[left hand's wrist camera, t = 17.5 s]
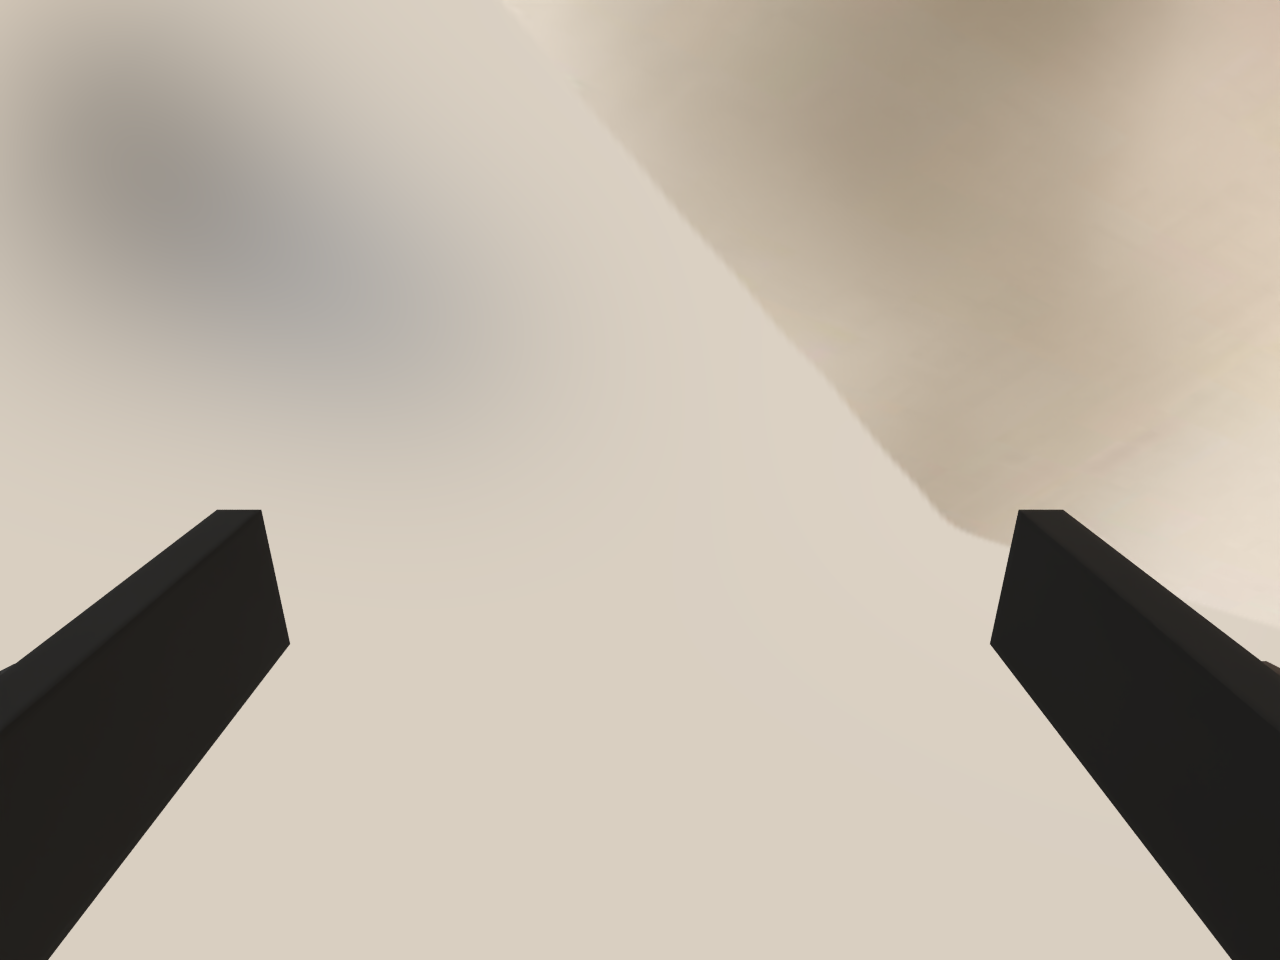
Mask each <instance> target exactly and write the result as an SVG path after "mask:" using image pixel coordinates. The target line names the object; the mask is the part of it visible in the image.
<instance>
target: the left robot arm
mask: <svg viewBox="0 0 1280 960" xmlns="http://www.w3.org/2000/svg"><path fill="white" fill-rule="evenodd" d="M289 645H290V642H289V637H288V632H287V628H286V623H285V618H284V614H283V609H282V604H281V600H280V595H279V590H278V586H277V581H276V576H275V572H274V567H273V562H272V558H271V553H270V548H269V544H268V539H267V534H266V530H265V525H264V520H263V516H262V511H261V510H216V511H215V512H214V513H212V514H211V515H210V516H208V517H207V518H206V519H204V520H203V521H202V522H201V523H199V524H198V525H197V526H195V527H194V528H193V529H191V530H190V531H189V532H187V533H186V534H185V535H183V536H182V537H181V538H179V539H178V540H177V541H176V542H174V543H173V544H172V545H170V546H169V547H168V548H166V549H165V550H164V551H162V552H161V553H160V554H159V555H157V556H156V557H155V558H153V559H152V560H151V561H149V562H148V563H147V564H145V565H144V566H143V567H142V568H140V569H139V570H138V571H136V572H135V573H134V574H132V575H131V576H130V577H128V578H127V579H126V580H125V581H123V582H122V583H121V584H119V585H118V586H117V587H115V588H114V589H113V590H111V591H110V592H109V593H108V594H106V595H105V596H104V597H102V598H101V599H100V600H98V601H97V602H96V603H94V604H93V605H92V606H90V607H89V608H88V609H86V610H85V611H84V612H83V613H81V614H80V615H79V616H77V617H76V618H75V619H73V620H72V621H71V622H69V623H68V624H67V625H66V626H64V627H63V628H62V629H60V630H59V631H58V632H56V633H55V634H54V635H52V636H51V637H50V638H49V639H47V640H46V641H45V642H43V643H42V644H41V645H39V646H38V647H37V648H35V649H34V650H33V651H32V652H30V653H29V654H28V655H26V656H25V657H24V658H22V659H21V660H20V661H18V662H17V663H16V664H13V665H11V666H9V667H7V668H5V669H3V670H1V671H0V960H48V959H49V958H50V957H51V955H52V954H53V953H54V951H55V950H56V949H57V947H58V946H59V945H60V943H61V942H62V941H63V940H64V938H65V937H66V936H67V934H68V933H69V932H70V930H71V929H72V928H73V927H74V925H75V924H76V923H77V921H78V920H79V919H80V917H81V916H82V915H83V914H84V912H85V911H86V910H87V908H88V907H89V906H90V904H91V903H92V902H93V900H94V899H95V898H96V897H97V895H98V894H99V893H100V891H101V890H102V889H103V887H104V886H105V885H106V883H107V882H108V881H109V879H110V878H111V877H112V876H113V874H114V873H115V872H116V870H117V869H118V868H119V867H120V865H121V864H122V863H123V861H124V860H125V859H126V857H127V856H128V855H129V853H130V852H131V851H132V849H133V848H134V847H135V846H136V844H137V843H138V842H139V840H140V839H141V838H142V836H143V835H144V834H145V833H146V831H147V830H148V829H149V827H150V826H151V825H152V823H153V822H154V821H155V820H156V818H157V817H158V816H159V814H160V813H161V812H162V810H163V809H164V808H165V806H166V805H167V804H168V802H169V801H170V800H171V799H172V797H173V796H174V795H175V793H176V792H177V791H178V789H179V788H180V787H181V786H182V784H183V783H184V782H185V780H186V779H187V778H188V776H189V775H190V774H191V773H192V771H193V770H194V769H195V767H196V766H197V765H198V763H199V762H200V761H201V759H202V758H203V757H204V756H205V754H206V753H207V752H208V750H209V749H210V748H211V746H212V745H213V744H214V742H215V741H216V740H217V739H218V737H219V736H220V735H221V733H222V732H223V731H224V729H225V728H226V727H227V725H228V724H229V723H230V722H231V720H232V719H233V718H234V716H235V715H236V714H237V712H238V711H239V710H240V709H241V707H242V706H243V705H244V703H245V702H246V701H247V699H248V698H249V697H250V695H251V694H252V693H253V692H254V690H255V689H256V688H257V686H258V685H259V684H260V682H261V681H262V680H263V678H264V677H265V676H266V675H267V673H268V672H269V671H270V669H271V668H272V667H273V665H274V664H275V663H276V662H277V660H278V659H279V658H280V656H281V655H282V654H283V652H284V651H285V650H286V648H287V647H288V646H289ZM990 645H991V646H992V647H993V648H994V650H995V651H996V652H997V654H998V655H999V656H1000V658H1001V659H1002V660H1003V662H1004V663H1005V664H1006V665H1007V667H1008V668H1009V669H1010V671H1011V672H1012V673H1013V675H1014V676H1015V677H1016V678H1017V680H1018V681H1019V682H1020V684H1021V685H1022V686H1023V688H1024V689H1025V690H1026V692H1027V693H1028V694H1029V695H1030V697H1031V698H1032V699H1033V701H1034V702H1035V703H1036V705H1037V706H1038V707H1039V708H1040V710H1041V711H1042V712H1043V714H1044V715H1045V716H1046V718H1047V719H1048V720H1049V722H1050V723H1051V724H1052V725H1053V727H1054V728H1055V729H1056V731H1057V732H1058V733H1059V735H1060V736H1061V737H1062V739H1063V740H1064V741H1065V742H1066V744H1067V745H1068V746H1069V748H1070V749H1071V750H1072V752H1073V753H1074V754H1075V755H1076V757H1077V758H1078V759H1079V761H1080V762H1081V763H1082V765H1083V766H1084V767H1085V769H1086V770H1087V771H1088V772H1089V774H1090V775H1091V776H1092V778H1093V779H1094V780H1095V782H1096V783H1097V784H1098V785H1099V787H1100V788H1101V789H1102V791H1103V792H1104V793H1105V795H1106V796H1107V797H1108V798H1109V800H1110V801H1111V803H1112V804H1113V805H1114V806H1115V808H1116V809H1117V810H1118V812H1119V813H1120V814H1121V816H1122V817H1123V818H1124V819H1125V821H1126V822H1127V823H1128V825H1129V826H1130V827H1131V829H1132V830H1133V831H1134V833H1135V834H1136V835H1137V836H1138V838H1139V839H1140V840H1141V842H1142V843H1143V844H1144V846H1145V847H1146V848H1147V850H1148V851H1149V852H1150V853H1151V855H1152V856H1153V857H1154V859H1155V860H1156V861H1157V863H1158V864H1159V865H1160V867H1161V868H1162V869H1163V870H1164V872H1165V873H1166V874H1167V876H1168V877H1169V878H1170V880H1171V881H1172V882H1173V883H1174V885H1175V886H1176V887H1177V889H1178V890H1179V891H1180V893H1181V894H1182V895H1183V896H1184V898H1185V899H1186V900H1187V902H1188V903H1189V904H1190V906H1191V907H1192V908H1193V910H1194V911H1195V912H1196V913H1197V915H1198V916H1199V917H1200V919H1201V920H1202V921H1203V923H1204V924H1205V925H1206V927H1207V928H1208V929H1209V930H1210V932H1211V933H1212V934H1213V936H1214V937H1215V938H1216V940H1217V941H1218V942H1219V944H1220V945H1221V946H1222V947H1223V949H1224V950H1225V951H1226V953H1227V954H1228V955H1229V956H1230V958H1231V959H1232V960H1280V668H1279V667H1277V666H1275V665H1273V664H1271V663H1269V662H1267V661H1260V660H1259V659H1258V658H1256V657H1255V656H1254V655H1252V654H1251V653H1250V652H1249V651H1247V650H1246V649H1245V648H1243V647H1242V646H1241V645H1239V644H1238V643H1237V642H1235V641H1234V640H1233V639H1231V638H1230V637H1229V636H1228V635H1226V634H1225V633H1224V632H1222V631H1221V630H1220V629H1218V628H1217V627H1216V626H1214V625H1213V624H1212V623H1211V622H1209V621H1208V620H1207V619H1205V618H1204V617H1203V616H1201V615H1200V614H1199V613H1197V612H1196V611H1195V610H1193V609H1192V608H1191V607H1190V606H1188V605H1187V604H1186V603H1184V602H1183V601H1182V600H1180V599H1179V598H1178V597H1176V596H1175V595H1174V594H1173V593H1171V592H1170V591H1169V590H1167V589H1166V588H1165V587H1163V586H1162V585H1161V584H1159V583H1158V582H1157V581H1156V580H1154V579H1153V578H1152V577H1150V576H1149V575H1148V574H1146V573H1145V572H1144V571H1142V570H1141V569H1140V568H1138V567H1137V566H1136V565H1135V564H1133V563H1132V562H1131V561H1129V560H1128V559H1127V558H1125V557H1124V556H1123V555H1121V554H1120V553H1119V552H1118V551H1116V550H1115V549H1114V548H1112V547H1111V546H1110V545H1108V544H1107V543H1106V542H1104V541H1103V540H1102V539H1101V538H1099V537H1098V536H1097V535H1095V534H1094V533H1093V532H1091V531H1090V530H1089V529H1087V528H1086V527H1085V526H1083V525H1082V524H1081V523H1080V522H1078V521H1077V520H1076V519H1074V518H1073V517H1072V516H1070V515H1069V514H1068V513H1066V512H1065V511H1064V510H1019V511H1018V516H1017V520H1016V525H1015V530H1014V534H1013V539H1012V544H1011V548H1010V553H1009V558H1008V562H1007V567H1006V572H1005V576H1004V581H1003V586H1002V590H1001V595H1000V600H999V604H998V609H997V614H996V618H995V623H994V628H993V632H992V637H991V642H990Z"/></svg>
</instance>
